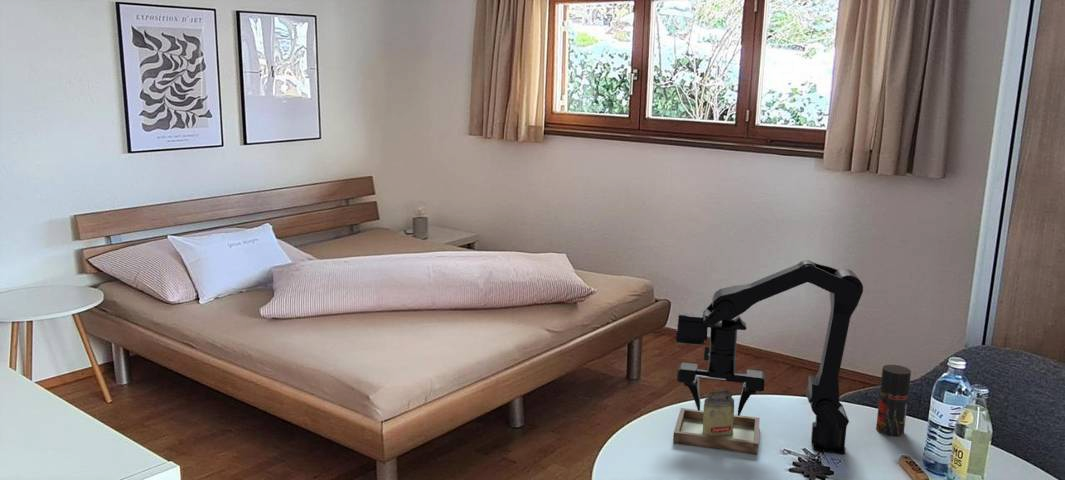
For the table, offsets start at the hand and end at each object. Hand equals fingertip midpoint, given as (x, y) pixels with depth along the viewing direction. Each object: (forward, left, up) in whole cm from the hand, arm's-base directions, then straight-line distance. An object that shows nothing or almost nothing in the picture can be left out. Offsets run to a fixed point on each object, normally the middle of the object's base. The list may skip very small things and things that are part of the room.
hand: (718, 412), depth 190 cm
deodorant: (-38, -15, -6) cm, 41 cm away
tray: (0, 0, -6) cm, 6 cm away
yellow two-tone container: (0, 0, -5) cm, 5 cm away
